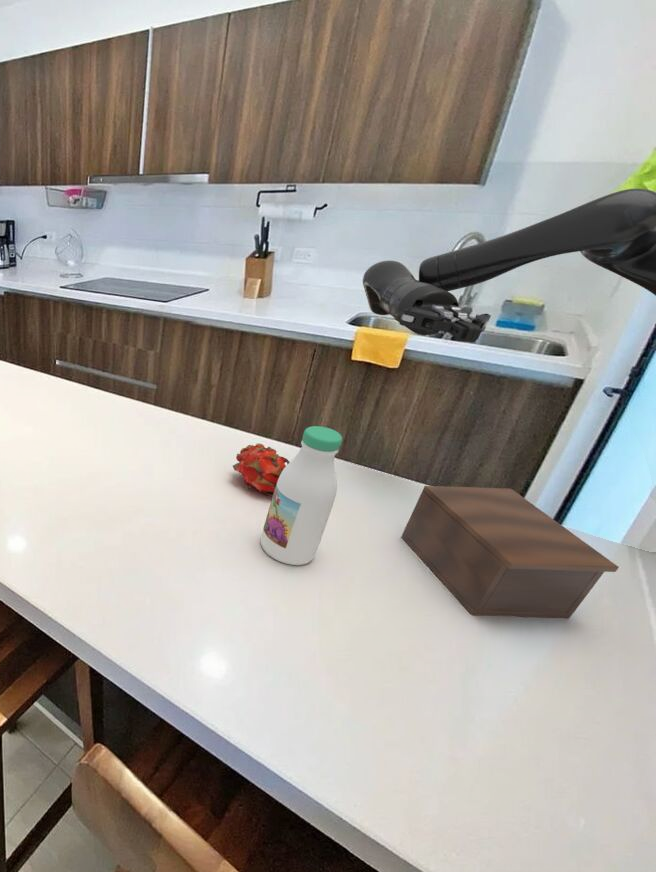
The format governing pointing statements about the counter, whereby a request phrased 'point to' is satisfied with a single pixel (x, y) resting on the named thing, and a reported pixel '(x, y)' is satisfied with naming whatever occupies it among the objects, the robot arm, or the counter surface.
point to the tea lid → (517, 530)
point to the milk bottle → (303, 499)
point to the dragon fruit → (260, 467)
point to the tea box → (490, 570)
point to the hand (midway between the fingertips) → (472, 335)
